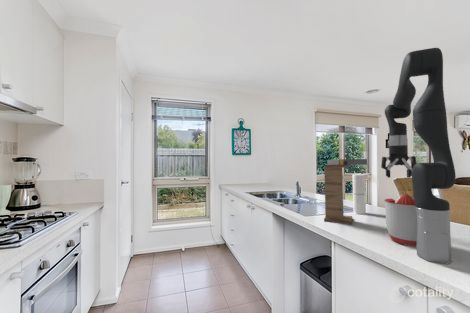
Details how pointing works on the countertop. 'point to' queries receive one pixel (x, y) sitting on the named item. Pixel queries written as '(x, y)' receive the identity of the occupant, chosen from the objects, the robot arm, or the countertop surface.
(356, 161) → the cord plug
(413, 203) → the citrus juicer
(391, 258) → the countertop surface
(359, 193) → the cylindrical container
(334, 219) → the stand
